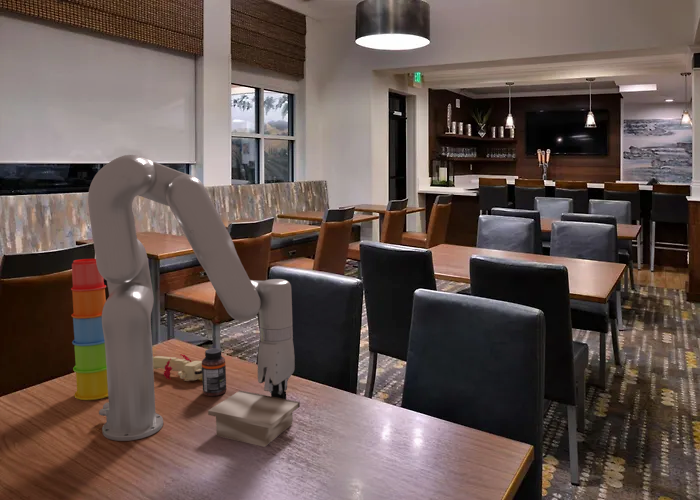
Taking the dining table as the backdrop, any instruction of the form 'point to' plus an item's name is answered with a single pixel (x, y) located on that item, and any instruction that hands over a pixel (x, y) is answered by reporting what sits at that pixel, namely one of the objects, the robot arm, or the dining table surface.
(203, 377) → the supplement bottle
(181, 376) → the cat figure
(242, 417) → the beige wooden box
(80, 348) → the stacking cups
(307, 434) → the dining table surface
